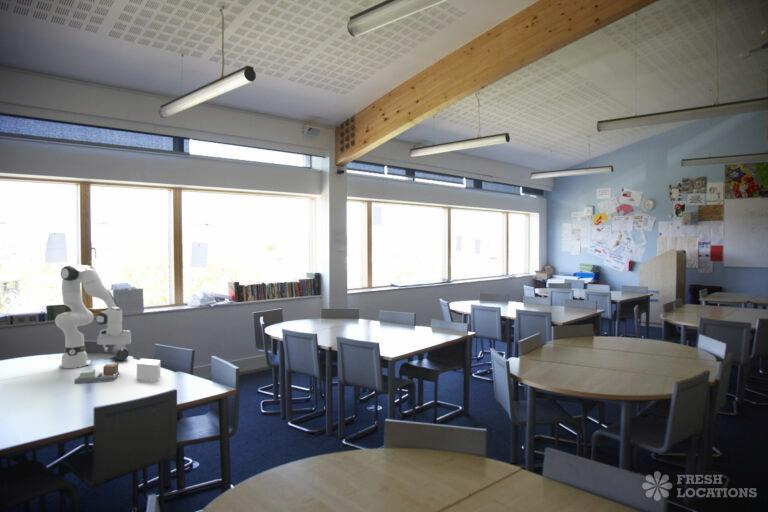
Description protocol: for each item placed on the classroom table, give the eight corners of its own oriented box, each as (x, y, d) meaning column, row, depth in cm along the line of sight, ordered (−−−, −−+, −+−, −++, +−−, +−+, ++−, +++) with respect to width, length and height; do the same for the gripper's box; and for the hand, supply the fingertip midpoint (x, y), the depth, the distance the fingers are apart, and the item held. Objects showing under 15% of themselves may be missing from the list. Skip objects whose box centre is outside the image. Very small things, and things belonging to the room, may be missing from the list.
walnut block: (108, 370, 322) (108, 361, 322) (120, 369, 324) (120, 361, 324) (103, 376, 308) (103, 366, 308) (115, 375, 310) (115, 366, 310)
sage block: (82, 379, 298) (82, 370, 298) (94, 378, 301) (95, 369, 301) (80, 382, 291) (80, 373, 291) (93, 381, 294) (93, 372, 294)
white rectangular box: (145, 384, 289) (145, 367, 289) (128, 375, 309) (129, 360, 309) (169, 379, 300) (169, 363, 300) (152, 371, 320) (152, 356, 320)
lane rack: (81, 377, 303) (81, 373, 303) (119, 374, 310) (119, 371, 310) (74, 383, 289) (74, 379, 289) (114, 380, 296) (114, 376, 296)
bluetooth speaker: (111, 357, 365) (111, 344, 365) (125, 355, 370) (125, 342, 370) (115, 362, 346) (115, 348, 346) (129, 360, 352) (129, 347, 352)
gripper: (132, 329, 329) (131, 349, 329) (99, 330, 322) (98, 350, 323) (130, 331, 323) (130, 351, 323) (96, 331, 316) (95, 352, 317)
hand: (113, 350), depth 323 cm, fingers open, 8 cm apart
